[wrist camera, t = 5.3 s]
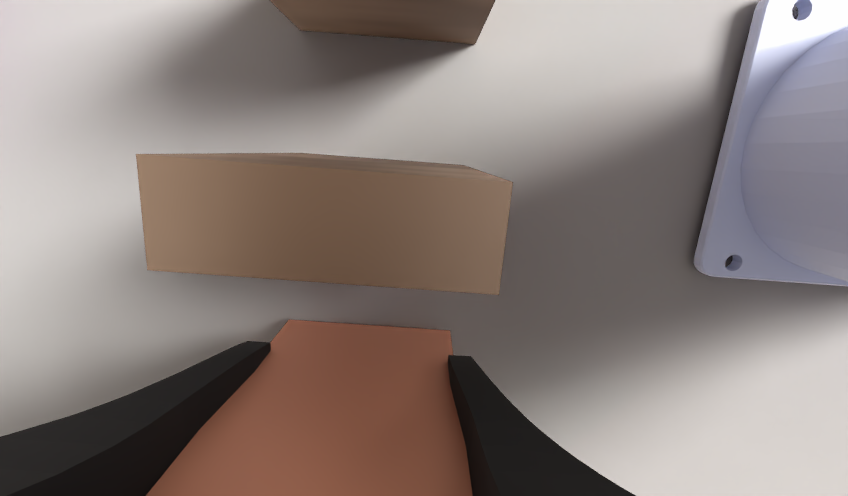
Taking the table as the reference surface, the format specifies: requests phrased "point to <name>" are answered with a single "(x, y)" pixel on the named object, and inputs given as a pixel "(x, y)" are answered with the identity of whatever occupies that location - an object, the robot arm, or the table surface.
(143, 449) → the robot arm
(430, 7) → the domino
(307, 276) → the domino
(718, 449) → the table surface
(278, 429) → the domino
